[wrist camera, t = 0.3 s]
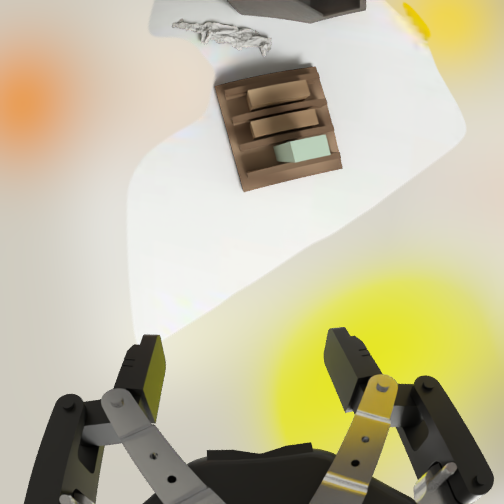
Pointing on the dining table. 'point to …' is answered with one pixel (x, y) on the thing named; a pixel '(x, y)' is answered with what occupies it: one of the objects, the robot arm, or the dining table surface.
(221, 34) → the white statue
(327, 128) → the rack
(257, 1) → the planter
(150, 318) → the dining table surface
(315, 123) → the offcut
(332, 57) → the dining table surface
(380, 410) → the robot arm
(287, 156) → the pale green block
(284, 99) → the offcut
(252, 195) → the dining table surface
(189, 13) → the dining table surface
